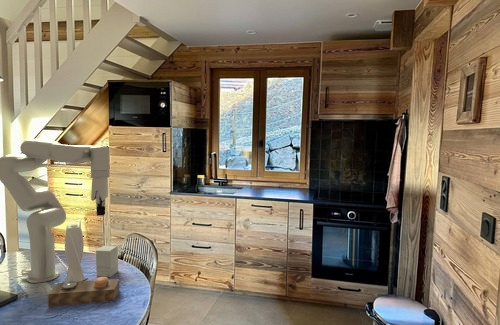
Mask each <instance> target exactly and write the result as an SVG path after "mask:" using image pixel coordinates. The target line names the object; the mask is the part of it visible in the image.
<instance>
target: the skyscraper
mask: <svg viewBox="0 0 500 325" xmlns="http://www.w3.org/2000/svg"><path fill="white" fill-rule="evenodd" d="M81 223H82V221H79V224H78V223H72V224H70V225H69V224H66V229H65V235H64V237H65V238H64V253H65V260H66V264H67V266H68V267H67V271H66V280H64V281H63V282H69V281H76V282H78V281H87V280H88V277H85V276H84V273H83V272H84V271H83V269H82V266H81V263H82V260H83V255H84V249H85V248H84V246H85V245H84V242H85V241H84V235H83V231H82V224H81Z"/></svg>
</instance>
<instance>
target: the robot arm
mask: <svg viewBox="0 0 500 325" xmlns="http://www.w3.org/2000/svg"><path fill="white" fill-rule="evenodd" d="M20 152H21V153H15V154H14V153H13V154H6V155H3V156H1V157H0V183H2V184H3V186H4V187H5V188H6V189H7V191H8V192H9V194H10V195H11V197H12V199H13V200H14V201H15V203H16V205H17V206H18V207H19V209H20V210H21V211H23V212H26V213H27V212H32V213H31V214H29V215H28V217H27V219H26V228H27V230H28V236H29V251H30V252H29V254H30V256H29V257H30V268H29V269H27V268H25V269H22V270H21V275H22V276H27V278H26V281H27V282H28V283H31V284H39V283H46V282H50V281H52V280H54V279H56V278H58V277H60V276H59V275H60V271H59V270H56V258H55V255H56V252H55V237H54V234H53V233H52V231H51V229H53V228H55V227H59V226H61V225H62V224H64V223H65V222H66V219H67V213H66V210H65V209H64V207H63V206H62V205H61V203H60V201H59V200H58V198H57V197H56V195H55V194H54V193H53V192H52V191H51V190H50V189H48V188H42V187H41V188H34V187H33V185H31V183H30V182H29V181H28V179H27V178H25V177H24V176H23V175H21V174H20V173H24V172H31V171H35V170H37V169H38V168H40V167H41V166H42V165H44V163H45V162H46V161H48V160H49V161H50V160H52V161H54V162H59V163H68V164H79V163H81V164H82V163H90V178H91V191H90V192H91V195H90V199H91V201H92V202H94V201H95V204H96V216H101V217H102V216H105V215H106V199H107V198H108V196H109V181H108V178H110V177H111V176H110V148H109V147H108V146H106V145H105V146H104V145H89V144H87V145H86V144H83V145H80V144H79V145H73V144H72V145H71V144H69V145H68V144H61V143H60V141H55V140H50V139H46V138H29V139H26V140H24V141H23V142H22V143H21V144H20ZM33 211H34V212H33Z"/></svg>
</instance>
